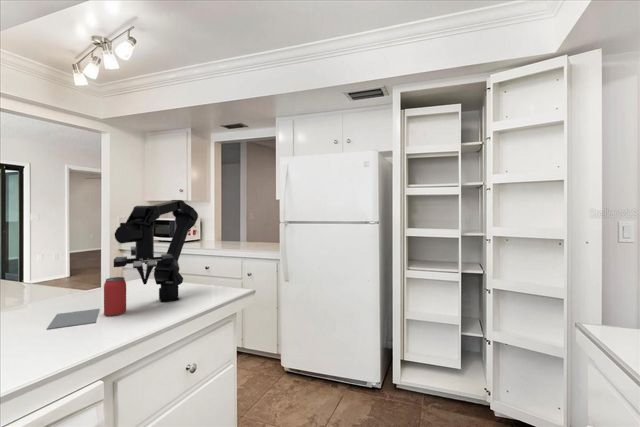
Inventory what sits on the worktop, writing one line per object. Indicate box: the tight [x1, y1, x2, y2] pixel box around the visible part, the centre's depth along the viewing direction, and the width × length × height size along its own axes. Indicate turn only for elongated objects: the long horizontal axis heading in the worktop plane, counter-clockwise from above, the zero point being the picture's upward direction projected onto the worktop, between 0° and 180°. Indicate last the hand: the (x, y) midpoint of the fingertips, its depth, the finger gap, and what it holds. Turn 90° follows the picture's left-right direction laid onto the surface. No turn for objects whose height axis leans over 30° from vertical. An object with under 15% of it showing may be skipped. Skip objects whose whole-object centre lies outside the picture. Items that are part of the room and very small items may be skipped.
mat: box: [46, 308, 101, 331], centre depth 107 cm, size 12×16×1 cm
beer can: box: [103, 276, 127, 317], centre depth 112 cm, size 7×7×12 cm
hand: (144, 284), depth 117 cm, fingers closed
